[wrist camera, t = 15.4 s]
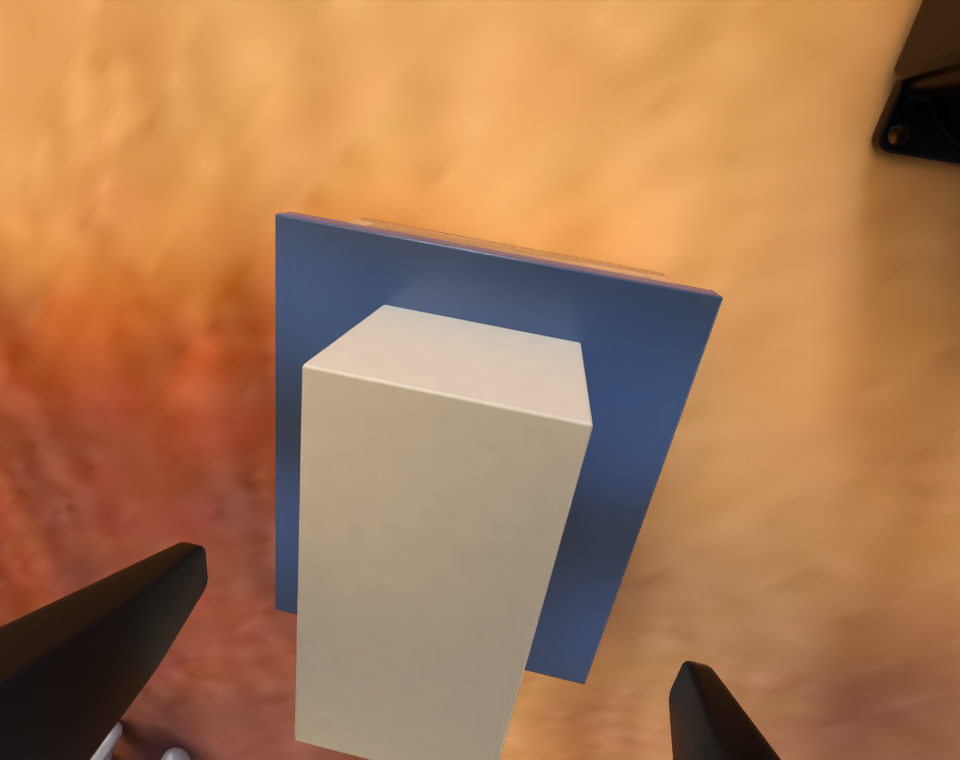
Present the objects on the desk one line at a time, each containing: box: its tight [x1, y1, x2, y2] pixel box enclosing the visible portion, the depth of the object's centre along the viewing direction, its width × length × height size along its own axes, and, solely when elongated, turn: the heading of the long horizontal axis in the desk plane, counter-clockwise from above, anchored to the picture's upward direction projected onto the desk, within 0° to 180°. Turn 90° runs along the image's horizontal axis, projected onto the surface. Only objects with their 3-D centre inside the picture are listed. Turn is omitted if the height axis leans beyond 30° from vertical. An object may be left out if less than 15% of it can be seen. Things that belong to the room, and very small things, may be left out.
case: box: [295, 305, 593, 760], centre depth 13 cm, size 11×5×5 cm, turn 171°
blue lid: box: [276, 212, 723, 684], centre depth 16 cm, size 14×12×1 cm
